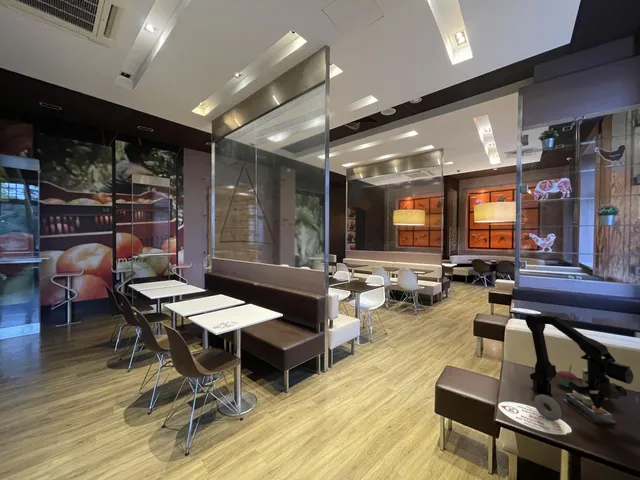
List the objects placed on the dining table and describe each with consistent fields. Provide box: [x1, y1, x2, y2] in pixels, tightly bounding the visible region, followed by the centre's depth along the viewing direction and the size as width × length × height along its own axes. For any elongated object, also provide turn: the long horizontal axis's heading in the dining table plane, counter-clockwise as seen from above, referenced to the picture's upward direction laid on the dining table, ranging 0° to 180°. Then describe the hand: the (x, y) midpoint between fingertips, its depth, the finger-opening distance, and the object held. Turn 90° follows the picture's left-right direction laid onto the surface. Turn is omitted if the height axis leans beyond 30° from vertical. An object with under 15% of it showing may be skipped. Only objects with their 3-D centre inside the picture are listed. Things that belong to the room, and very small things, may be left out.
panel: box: [562, 392, 617, 425], centre depth 120 cm, size 9×16×4 cm, turn 173°
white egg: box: [572, 389, 584, 400], centre depth 125 cm, size 4×4×4 cm
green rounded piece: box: [582, 395, 593, 406], centre depth 120 cm, size 4×4×4 cm
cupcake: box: [556, 364, 579, 388], centre depth 142 cm, size 9×8×12 cm
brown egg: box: [592, 406, 605, 413], centre depth 115 cm, size 4×4×4 cm
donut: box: [533, 394, 563, 422], centre depth 116 cm, size 10×4×10 cm, turn 23°
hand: (597, 408), depth 115 cm, fingers closed, pressing on brown egg
